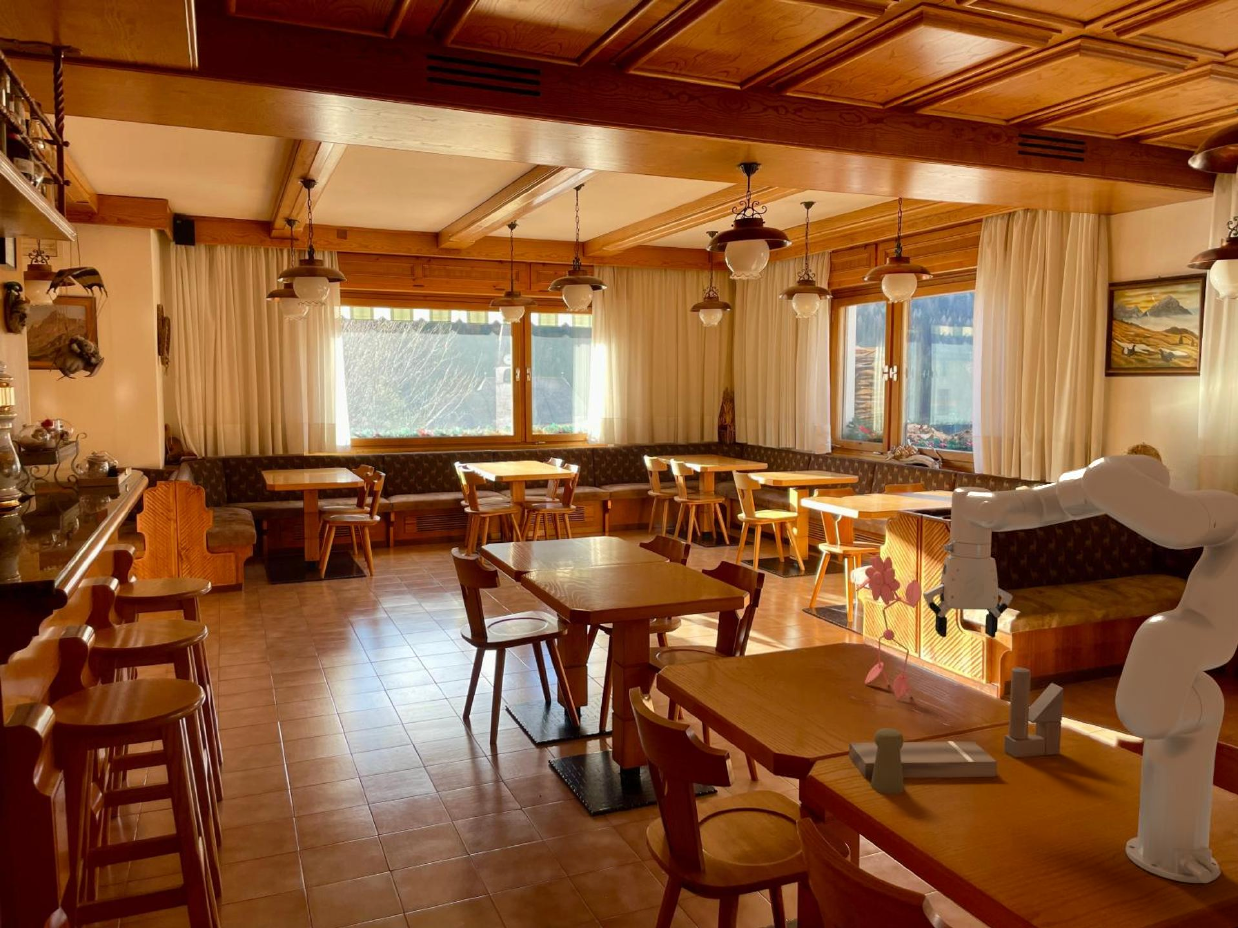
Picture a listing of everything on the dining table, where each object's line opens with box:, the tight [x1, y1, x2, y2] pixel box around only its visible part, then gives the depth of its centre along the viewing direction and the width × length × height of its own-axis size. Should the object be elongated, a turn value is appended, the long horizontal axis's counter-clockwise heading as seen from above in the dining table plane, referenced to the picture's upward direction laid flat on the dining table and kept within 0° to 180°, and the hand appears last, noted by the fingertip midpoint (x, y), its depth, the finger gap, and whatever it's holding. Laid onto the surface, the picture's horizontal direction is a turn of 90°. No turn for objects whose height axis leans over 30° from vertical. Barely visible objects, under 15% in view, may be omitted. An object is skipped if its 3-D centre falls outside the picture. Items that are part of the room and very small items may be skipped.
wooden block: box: [1003, 666, 1064, 758], centre depth 183 cm, size 4×11×18 cm, turn 102°
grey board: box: [848, 740, 998, 779], centre depth 176 cm, size 10×26×3 cm, turn 93°
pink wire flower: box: [845, 554, 923, 708], centre depth 218 cm, size 15×26×35 cm, turn 19°
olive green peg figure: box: [870, 727, 905, 795], centre depth 166 cm, size 6×6×11 cm
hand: (965, 635), depth 174 cm, fingers open, 9 cm apart
